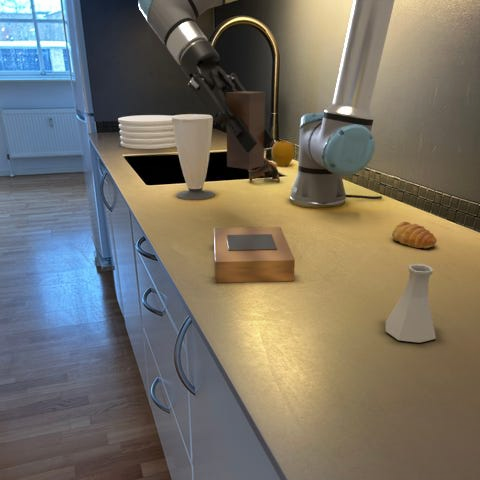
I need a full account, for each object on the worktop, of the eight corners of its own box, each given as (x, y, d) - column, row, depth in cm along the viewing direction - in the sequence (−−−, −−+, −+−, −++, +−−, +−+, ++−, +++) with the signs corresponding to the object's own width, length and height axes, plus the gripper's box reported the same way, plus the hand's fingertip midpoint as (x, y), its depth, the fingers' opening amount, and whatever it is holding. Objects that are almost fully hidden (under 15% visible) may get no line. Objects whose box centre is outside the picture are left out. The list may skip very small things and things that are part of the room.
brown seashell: (282, 186, 162) (270, 164, 157) (255, 198, 165) (243, 177, 160) (282, 169, 170) (271, 148, 166) (257, 181, 174) (245, 160, 169)
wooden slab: (279, 245, 109) (280, 225, 107) (293, 281, 91) (294, 259, 90) (214, 246, 109) (214, 227, 107) (215, 282, 91) (215, 260, 89)
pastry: (443, 246, 108) (446, 229, 106) (421, 252, 105) (424, 234, 103) (409, 235, 115) (411, 218, 113) (387, 240, 112) (389, 223, 110)
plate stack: (111, 148, 229) (108, 120, 223) (133, 139, 253) (131, 114, 248) (171, 149, 224) (170, 121, 219) (188, 140, 249) (186, 115, 244)
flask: (377, 321, 77) (385, 259, 73) (423, 319, 78) (435, 257, 73) (394, 345, 71) (404, 278, 66) (444, 343, 71) (458, 276, 67)
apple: (272, 163, 195) (272, 138, 191) (294, 163, 194) (295, 139, 190) (270, 167, 188) (270, 142, 184) (293, 167, 187) (294, 142, 183)
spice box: (226, 166, 105) (226, 92, 99) (242, 162, 109) (242, 91, 103) (249, 169, 102) (249, 93, 96) (263, 165, 106) (265, 91, 100)
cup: (201, 202, 142) (198, 119, 132) (168, 197, 147) (162, 116, 137) (222, 193, 151) (221, 115, 141) (190, 189, 156) (187, 113, 146)
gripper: (212, 67, 112) (273, 152, 111) (153, 68, 99) (222, 165, 98) (231, 39, 107) (296, 128, 106) (172, 36, 94) (245, 138, 93)
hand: (260, 145), depth 102 cm, fingers closed on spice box, 5 cm apart
